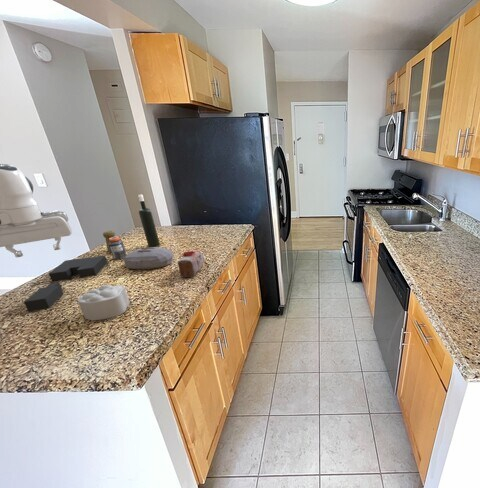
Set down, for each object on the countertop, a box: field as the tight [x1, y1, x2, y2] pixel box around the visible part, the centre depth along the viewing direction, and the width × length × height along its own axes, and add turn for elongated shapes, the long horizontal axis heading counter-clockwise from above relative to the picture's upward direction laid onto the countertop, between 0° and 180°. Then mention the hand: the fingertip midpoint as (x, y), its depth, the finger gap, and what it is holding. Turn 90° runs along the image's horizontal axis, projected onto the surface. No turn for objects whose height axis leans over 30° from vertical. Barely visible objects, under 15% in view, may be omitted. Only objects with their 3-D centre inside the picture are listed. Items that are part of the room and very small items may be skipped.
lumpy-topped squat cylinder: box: [76, 284, 131, 321], centre depth 93 cm, size 10×13×9 cm
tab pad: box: [23, 281, 64, 312], centre depth 101 cm, size 6×13×4 cm, turn 20°
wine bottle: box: [137, 194, 161, 248], centre depth 147 cm, size 6×6×30 cm
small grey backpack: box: [123, 246, 174, 270], centre depth 128 cm, size 15×8×20 cm
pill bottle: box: [108, 236, 128, 261], centre depth 135 cm, size 6×6×11 cm
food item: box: [177, 249, 205, 278], centre depth 121 cm, size 14×8×10 cm, turn 8°
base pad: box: [48, 255, 109, 283], centre depth 122 cm, size 16×14×4 cm
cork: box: [102, 230, 116, 253], centre depth 145 cm, size 6×6×11 cm
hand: (39, 252), depth 91 cm, fingers open, 8 cm apart
